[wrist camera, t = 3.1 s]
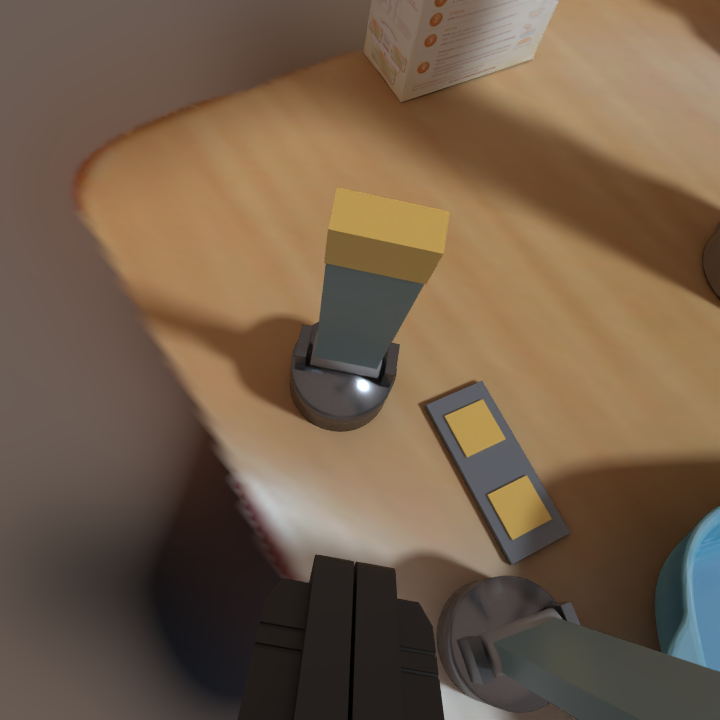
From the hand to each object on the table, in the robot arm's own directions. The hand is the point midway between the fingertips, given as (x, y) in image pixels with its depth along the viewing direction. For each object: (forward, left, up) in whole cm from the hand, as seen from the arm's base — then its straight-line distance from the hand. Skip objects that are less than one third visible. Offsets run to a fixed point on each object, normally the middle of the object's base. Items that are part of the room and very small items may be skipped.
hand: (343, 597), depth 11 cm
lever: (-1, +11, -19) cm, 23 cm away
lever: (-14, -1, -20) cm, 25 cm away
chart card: (-11, +10, -24) cm, 29 cm away
